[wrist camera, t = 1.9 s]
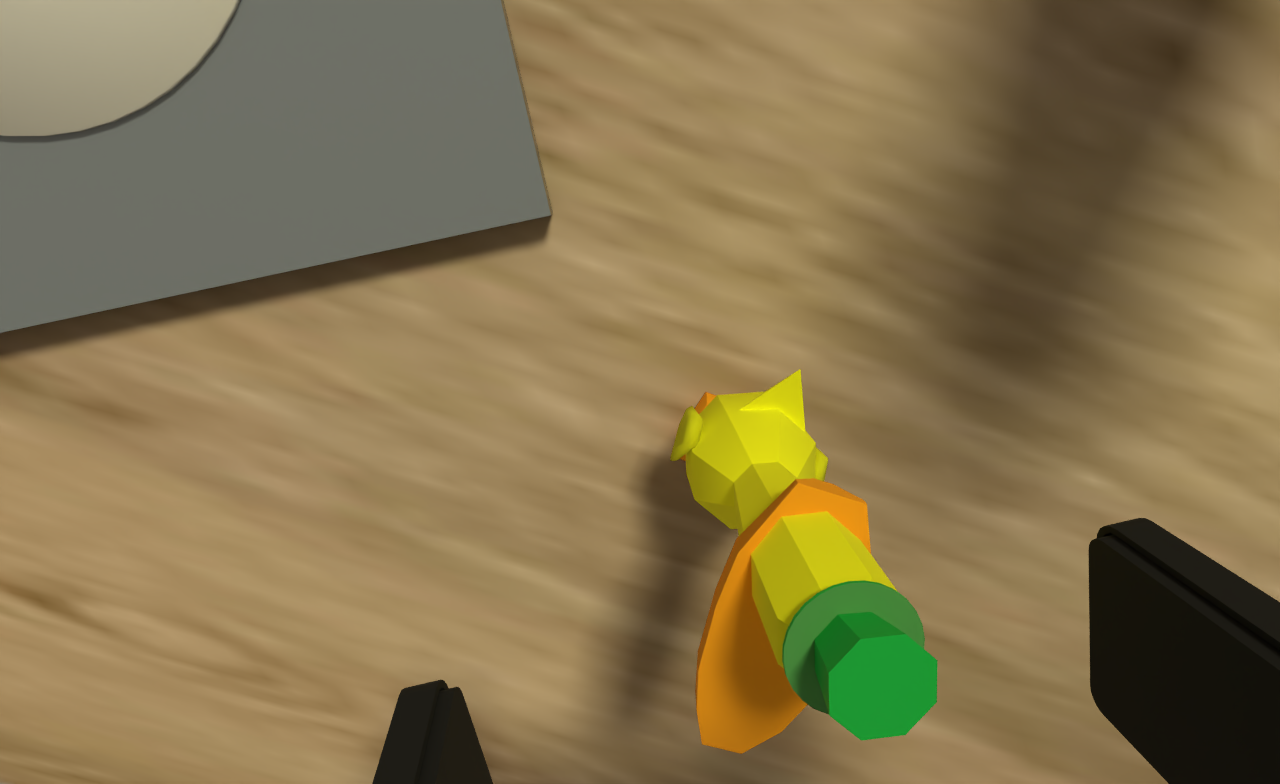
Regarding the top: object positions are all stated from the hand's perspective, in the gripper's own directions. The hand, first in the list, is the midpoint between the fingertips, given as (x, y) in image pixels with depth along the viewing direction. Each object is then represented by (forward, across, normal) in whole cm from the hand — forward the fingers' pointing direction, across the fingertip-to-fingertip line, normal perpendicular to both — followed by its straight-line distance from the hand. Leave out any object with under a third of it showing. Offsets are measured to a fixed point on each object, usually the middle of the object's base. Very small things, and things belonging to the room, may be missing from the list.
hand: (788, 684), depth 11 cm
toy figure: (+11, -1, +1) cm, 11 cm away
